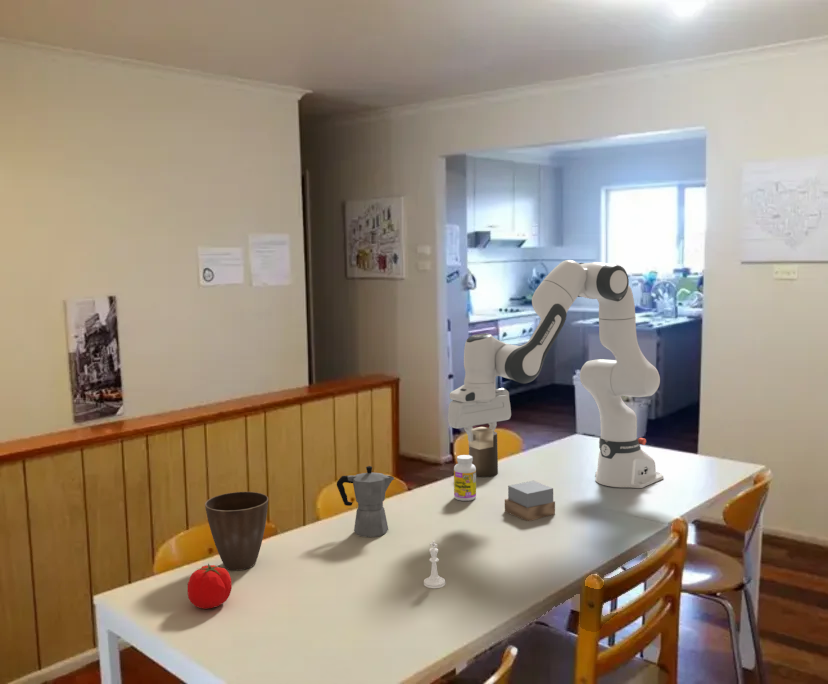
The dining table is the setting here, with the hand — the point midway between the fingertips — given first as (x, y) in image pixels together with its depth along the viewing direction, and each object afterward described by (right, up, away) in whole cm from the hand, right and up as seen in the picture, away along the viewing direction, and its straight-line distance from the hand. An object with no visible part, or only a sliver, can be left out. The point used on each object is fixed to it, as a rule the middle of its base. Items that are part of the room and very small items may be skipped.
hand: (480, 439), depth 221 cm
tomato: (-63, -29, -54) cm, 88 cm away
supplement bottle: (-4, -20, +14) cm, 25 cm away
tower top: (+14, -17, -1) cm, 22 cm away
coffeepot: (-32, -24, -12) cm, 41 cm away
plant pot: (-61, -27, -32) cm, 74 cm away
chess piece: (-14, -27, -46) cm, 55 cm away
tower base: (+14, -21, 0) cm, 25 cm away
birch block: (0, -2, 0) cm, 2 cm away
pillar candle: (+4, -17, +40) cm, 44 cm away
